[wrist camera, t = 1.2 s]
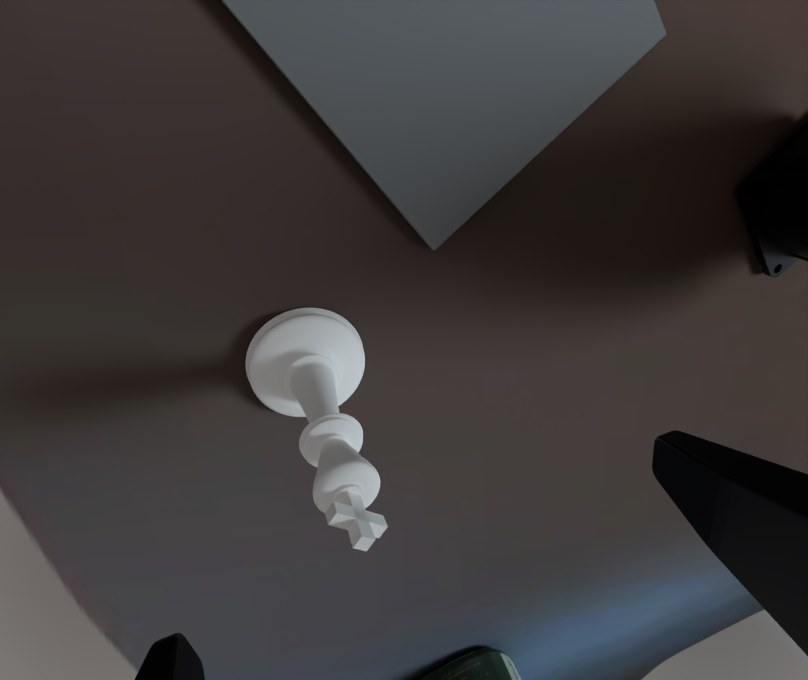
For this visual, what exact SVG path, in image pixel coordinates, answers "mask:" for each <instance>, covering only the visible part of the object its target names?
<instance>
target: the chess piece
mask: <svg viewBox="0 0 808 680" xmlns="http://www.w3.org/2000/svg"><path fill="white" fill-rule="evenodd" d="M245 365H246V373H247V377H248V380H249V382H250V384H251V387H252V389H253V391H254V393H255V394H256V396H257V397H258V398H259V400H260V401H261V402H262V403H263V404H265V405H266V406H267V407H269V408H270V409H272V410H274V411H276V412H278V413H281V414H284V415H288V416H294V417H307V419H308V421H309V424H308V425H307V426H306V428H305V429H304V430H303V432H302V434H301V436H300V440H299V448H300V451H301V454H302V455H303V457H304V458H305V459H306V460H307V461H308V462H309V463H310V464H311V465H313V466H315V467H317V474H316V476H315V480H314V485H313V499H314V502H315V504H316V506H317V507H318V508H319V509H320V510H321V511H322V512H324V513H325V514H326V518H327V522H328V525H331V526H335V527H338V528H342V529H346V530H348V533H349V536H350V539H351V543H352V546H353V548H355V549H359V550H363V551H367V550H368V549H369V548H370V546H371V545H372V544H373V542H374V541H375V537H376V538H380V536H381V535H382V534H383V532H384V531H385V530H386V528H387V524H386V522H385V519H384V516H383V515H379V514H376V513H373V512H369V511H366V510H365V508H367V507H368V506H369V505H370V504H371V503H372V502H373V501H374V499H375V498H376V496H377V495H378V492H379V489H380V477H379V474H378V472H377V471H376V469H375V468H374V467H373V466H372V465H371V464H370V463H369V462H368V461H367V460H366V459H364V458H363V457H362V456H360V455H359V453H358V452H359V451H360V449H361V446H362V442H363V431H362V427H361V425H360V424H359V422H358V421H357V420H356V419H354V418H353V417H351V416H349V415H347V414H343V413H339V408H338V406H339V405H341V404H342V403H343V402H345V401H346V400H347V399H348V398H349V397H350V396H351V395H352V394H353V392H354V391H355V390H356V388H357V387H358V385H359V383H360V381H361V379H362V376H363V372H364V367H365V355H364V350H363V345H362V342H361V339H360V336H359V334H358V333H357V331H356V329H355V328H354V327H353V326H352V325H351V324H350V323H349V322H348V321H347V320H346V319H345V318H343V317H342V316H340V315H338V314H336V313H334V312H332V311H329V310H325V309H321V308H299V309H294V310H290V311H287V312H284V313H282V314H280V315H278V316H276V317H274V318H272V319H271V320H270V321H268V322H267V323H266V324H264V325H263V326H262V327H261V328H260V329H259V331H258V332H257V333H256V334H255V336H254V337H253V339H252V341H251V343H250V345H249V347H248V350H247V354H246V362H245Z"/></svg>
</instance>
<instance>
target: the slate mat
mask: <svg viewBox="0 0 808 680" xmlns="http://www.w3.org/2000/svg"><path fill="white" fill-rule="evenodd" d="M221 1H222V2H223V4H224V5H225V6H226V7H227V8H228V9H229V11H230V12H231V13H232V14H233V15H234V17H235V18H236V19H237V20H238V21H239V23H240V24H241V25H242V26H243V27H244V28H245V30H246V31H247V32H248V33H249V34H250V36H251V37H252V38H253V39H254V40H255V41H256V43H257V44H258V45H259V46H260V47H261V49H262V50H263V51H264V52H265V53H266V55H267V56H268V57H269V58H270V59H271V60H272V62H273V63H274V64H275V65H276V66H277V68H278V69H279V70H280V71H281V72H282V73H283V75H284V76H285V77H286V78H287V79H288V81H289V82H290V83H291V84H292V85H293V86H294V88H295V89H296V90H297V91H298V92H299V94H300V95H301V96H302V97H303V98H304V100H305V101H306V102H307V103H308V104H309V105H310V107H311V108H312V109H313V110H314V111H315V113H316V114H317V115H318V116H319V117H320V118H321V120H322V121H323V122H324V123H325V124H326V126H327V127H328V128H329V129H330V130H331V131H332V133H333V134H334V135H335V136H336V137H337V139H338V140H339V141H340V142H341V143H342V145H343V146H344V147H345V148H346V149H347V150H348V152H349V153H350V154H351V155H352V156H353V158H354V159H355V160H356V161H357V162H358V163H359V165H360V166H361V167H362V168H363V169H364V171H365V172H366V173H367V174H368V175H369V177H370V178H371V179H372V180H373V181H374V182H375V184H376V185H377V186H378V187H379V188H380V190H381V191H382V192H383V193H384V194H385V195H386V197H387V198H388V199H389V200H390V201H391V203H392V204H393V205H394V206H395V207H396V208H397V210H398V211H399V212H400V213H401V214H402V216H403V217H404V218H405V219H406V220H407V222H408V223H409V224H410V225H411V226H412V227H413V229H414V230H415V231H416V232H417V233H418V235H419V236H420V237H421V238H422V239H423V240H424V242H425V243H426V244H427V245H428V246H429V247H430V248H431V249H432V250H433V251H435V250H436V249H437V248H438V247H439V246H440V245H441V244H442V243H443V242H444V241H445V240H446V239H448V238H449V237H450V236H451V235H452V234H453V233H454V232H455V231H456V230H457V229H458V228H459V227H460V226H461V225H463V224H464V223H465V222H466V221H467V220H468V219H469V218H470V217H471V216H472V215H473V214H474V213H475V212H476V211H478V210H479V209H480V208H481V207H482V206H483V205H484V204H485V203H486V202H487V201H488V200H489V199H490V198H491V197H493V196H494V195H495V194H496V193H497V192H498V191H499V190H500V189H501V188H502V187H503V186H504V185H505V184H506V183H508V182H509V181H510V180H511V179H512V178H513V177H514V176H515V175H516V174H517V173H518V172H519V171H520V170H521V169H523V168H524V167H525V166H526V165H527V164H528V163H529V162H530V161H531V160H532V159H533V158H534V157H535V156H536V155H538V154H539V153H540V152H541V151H542V150H543V149H544V148H545V147H546V146H547V145H548V144H549V143H550V142H551V141H553V140H554V139H555V138H556V137H557V136H558V135H559V134H560V133H561V132H562V131H563V130H564V129H565V128H566V127H568V126H569V125H570V124H571V123H572V122H573V121H574V120H575V119H576V118H577V117H578V116H579V115H580V114H581V113H583V112H584V111H585V110H586V109H587V108H588V107H589V106H590V105H591V104H592V103H593V102H594V101H595V100H596V99H598V98H599V97H600V96H601V95H602V94H603V93H604V92H605V91H606V90H607V89H608V88H609V87H610V86H611V85H613V84H614V83H615V82H616V81H617V80H618V79H619V78H620V77H621V76H622V75H623V74H624V73H625V72H626V71H628V70H629V69H630V68H631V67H632V66H633V65H634V64H635V63H636V62H637V61H638V60H639V59H640V58H641V57H643V56H644V55H645V54H646V53H647V52H648V51H649V50H650V49H651V48H652V47H653V46H654V45H655V44H656V43H658V42H659V41H660V40H661V39H662V38H663V37H664V36H665V35H666V31H665V29H664V26H663V23H662V20H661V18H660V15H659V12H658V10H657V7H656V4H655V2H654V0H221Z"/></svg>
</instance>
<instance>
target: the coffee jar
mask: <svg viewBox="0 0 808 680" xmlns="http://www.w3.org/2000/svg"><path fill="white" fill-rule="evenodd" d="M420 680H521V678H520V676H519V674H518V672H517V670H516V668H515V666H514V664H513V663H512V661H511V659H510V658H509V657H508V656H507V655H506V654H505V653H504V652H502V651H500V650H496V649H488V648H482V649H478V650H475V651H472V652H470V653H468V654H466V655H464V656H462V657H460V658H457V659H456V660H454V661H452V662H450V663H448V664H446V665H444V666H443V667H441V668H439V669H437V670H436V671H434V672H432V673H430V674H428V675H427V676H425V677H423V678H422V679H420Z"/></svg>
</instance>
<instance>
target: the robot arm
mask: <svg viewBox="0 0 808 680" xmlns="http://www.w3.org/2000/svg"><path fill="white" fill-rule="evenodd" d="M737 199H738V202H739V204H740V207H741V210H742V213H743V216H744V218H745V221H746V224H747V227H748V230H749V232H750V235H751V238H752V241H753V244H754V246H755V249H756V252H757V255H758V258H759V261H760V263H761V266H762V269H763V272H764V274H765V275H768V276H771V277H778V276H779V275H780V274H782V273H783V272H784V271H785V270H786V269H787V268H789V267H790V266H791V265H792V264H793V263H794V262H795V261H797V260H798V259H802V260H805V261H808V124H807V125H806V126H805V127H804V128H803V129H802V130H800V131H799V132H798V133H797V134H796V135H795V136H794V137H793V138H791V139H790V140H789V141H788V142H787V143H786V144H785V145H784V146H782V147H781V148H780V149H779V150H778V151H777V152H776V153H775V154H773V155H772V156H771V157H770V158H769V159H768V160H767V161H766V162H764V163H763V164H762V165H761V166H760V167H759V168H758V169H757V170H755V171H754V172H753V173H752V174H751V175H750V176H749V177H748V178H746V179H745V180H744V181H743V182H742V183H741V184H740V185H739V187H738V189H737ZM652 469H653V473H654V475H655V477H656V479H657V480H658V482H659V483H660V485H661V486H662V487H663V488H664V490H665V491H666V492H667V494H668V495H669V496H670V498H671V499H672V500H673V502H674V503H675V504H676V506H677V507H678V508H679V510H680V511H681V512H682V514H683V515H684V516H685V518H686V519H687V520H688V522H689V523H690V524H691V525H692V527H693V528H694V529H695V531H696V532H697V533H698V535H699V536H700V537H701V539H702V540H703V541H704V542H705V544H706V545H707V546H708V547H709V548H710V549H711V551H712V552H713V553H714V554H715V555H716V556H717V557H718V558H719V560H720V561H721V562H722V563H723V564H724V565H725V566H726V567H727V568H728V569H729V571H730V572H731V573H732V574H733V575H734V576H735V577H736V578H737V579H738V580H739V581H740V583H741V584H742V585H743V586H744V587H745V588H746V589H747V590H748V591H749V592H750V593H751V595H752V596H753V597H754V598H755V599H756V600H757V601H758V602H759V603H760V604H761V605H762V607H763V608H764V609H765V610H766V611H767V612H768V613H769V614H770V615H771V616H772V617H773V619H774V620H775V621H776V622H777V623H778V624H779V625H780V626H781V627H782V628H783V630H784V631H785V632H786V633H787V634H788V635H789V636H790V637H791V638H792V639H793V640H794V641H795V643H796V644H797V645H798V646H799V647H800V648H801V649H802V650H803V651H804V652H805V654H806V655H807V656H808V474H805V473H802V472H799V471H796V470H793V469H790V468H787V467H785V466H782V465H779V464H776V463H773V462H770V461H767V460H764V459H761V458H758V457H755V456H752V455H749V454H746V453H743V452H740V451H737V450H734V449H731V448H728V447H726V446H723V445H720V444H717V443H714V442H711V441H708V440H705V439H702V438H699V437H696V436H693V435H690V434H687V433H684V432H681V431H670V432H668V433H665V434H663V435H660V436H658V437H657V438H656V439H655V442H654V451H653V462H652ZM135 680H205V678H204V670H203V666H202V662H201V660H200V658H199V656H198V655H197V654H196V652H195V651H194V649H193V648H192V646H191V645H190V644H189V642H188V641H187V639H186V638H185V637H184V636H183V634H181V633H175V634H173V635H170V636H168V637H165V638H163V639H160V640H158V641H156V642H155V643H154V644H153V645H152V646H151V648H150V650H149V651H148V654H147V656H146V658H145V660H144V662H143V664H142V666H141V668H140V670H139V672H138V674H137V676H136V678H135Z"/></svg>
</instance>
